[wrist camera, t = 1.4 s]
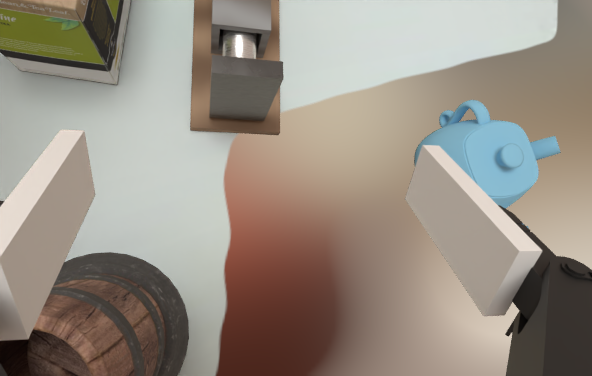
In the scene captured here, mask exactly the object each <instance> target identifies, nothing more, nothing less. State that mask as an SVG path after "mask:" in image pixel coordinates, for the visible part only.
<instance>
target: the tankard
mask: <svg viewBox="0 0 592 376" xmlns="http://www.w3.org/2000/svg"><path fill="white" fill-rule="evenodd" d="M188 339H189V330H188V318H187V313H186V309H185V305H184V303H183V301H182V298H181V296H180V294H179V292H178V290H177V289H176V287H175V286H174V285H173V283H172V282H171V281H170V279H169V278H168V277H167V276H166V275H164V274H163V273H162V272H161V271H160V270H159V269H158V268H156V267H155V266H153V265H151V264H149V263H148V262H146V261H144V260H142V259H139V258H136V257H133V256H130V255H127V254H118V253H110V252H109V253H93V254H88V255H84V256H80V257H76V258H73V259H71V260H69V261H66V262H64V263H63V265H62V268H61V270H60V272H59V274H58V276H57V278H56V281H55V283H54V285H53V287H52V289H51V291H50V293H49V296H48V298H47V300H46V302H45V304H44V306H43V309H42V311H41V313H40V315H39V317H38V319H37V321H36V324H35V326H34V328H33V330H32V332H31V334H30V336H29V339H23V340H3V341H0V364H1V365H2V367H3V369H4V370H5V372H6V374H7V375H8V376H177V375H178V374H179V372H180V369H181V367H182V364H183V361H184V358H185V356H186V351H187V345H188Z"/></svg>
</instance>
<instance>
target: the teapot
mask: <svg viewBox="0 0 592 376" xmlns="http://www.w3.org/2000/svg"><path fill="white" fill-rule="evenodd" d="M469 108H470V109H471V110H472V111H473V112H474V114H475V116H476V118H477V120H467V121H462V122H459V121H460V120H461V118H462V117H463V115H464V114H465V112H466V111H467V110H468V109H469ZM439 121H440V125H441V127H442V128H440V129H438V130H436V131H434V132H433V133H431V134H430V135H428V136H427V137H426V138H425V139H424V140H423V141H422V142H421V143H420V144H419V145H418V147H417V149H416V152H415V160H414V163H415V166H416V163H417V160H418V157H419V154H420V151H421V148H422V145H436V146H440V147H441V148H442V149H443V150H444V151H445V152H446V153H447V154H448V155H449V156H450V157H451V158H452V159H453V160H454V161H455V162H456V163H457V164H458V165H459V167H460V168H461V169H462V170H463V171H464V172H465V173H466V174H467V175H468V176H469V177H470V178H471V179H472V180H473V181H474V182H475V183H476V184H477V185H478V186H479V187H480V188H481V189H482V190H483V191H484V192H485V193H486V194H487V195H488V196H489V197H490V198H491V199H492V200H493V201H494V202H495V203H496V204H497V205H500V206H502V207H504V208H507V207H508V206H510V205H511V204H513V203H514V202H515V201H516V200H518V199H519V198H520V197H522V196H523V195H524V194H525V193H526V192H527V191H528V190H529V189H530V188H531V187H532V186H533V184H534V183H535V182H536V181H537V178H538V166H537V162H536V160H538V159H542V158H545V157H548V156H552V155H555V154H558V153H560V149H559V146H558V143H557V140H556V137H555V136H552V137H549V138H545V139H541V140H538V141H534V142H529V140H528V137H527V135H526V134H525V132H524V130H523V129H522V128H521V127H520V126H519V125H517V124H515V123H511V122H506V121H498V120H490V115H489V113H488V110H487V108H486V107H485V106H484V105H483V104H482V103H481V102H479V101H477V100H469V101H466V102H464V103H462V104H461V105H460V106H459V107H458V108H457V109H456V111H455V112H453V111H450V110H447V111H444V112H443V113H442V114H441V115H440V119H439ZM523 225H524V224H523ZM526 227H527V228H528V226H526ZM528 229H529V228H528Z"/></svg>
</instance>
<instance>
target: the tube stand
mask: <svg viewBox="0 0 592 376" xmlns="http://www.w3.org/2000/svg"><path fill="white" fill-rule="evenodd" d="M223 29H224V30H233V31H242V32H251V33H256V59H261V60H271V61H279V0H195V1H194V31H193V62H192V92H191V123H190V129H191V130H195V131H213V132H231V133H249V134H250V133H251V134H267V135H279V133H280V87H279V89H278V91H277V94H276V96H275V98H274V100H273V102H272V105H271V107H270V109H269V111H268V113H267V116H266V118H265V120H264V121H253V120H238V119H222V118H209V111H210V87H211V66H212V55H220V56H222V54H223Z"/></svg>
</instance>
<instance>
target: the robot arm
mask: <svg viewBox="0 0 592 376" xmlns="http://www.w3.org/2000/svg"><path fill="white" fill-rule="evenodd" d="M94 197H95V190H94V184H93V178H92V173H91V167H90V161H89V156H88V150H87V144H86V138H85V133H84V131H82V130H60V131H59V132H58V134H57V135H56V136H55V137H54V139H53V140H52V141H51V143H50V144H49V145H48V146H47V148H46V149H45V150H44V152H43V153H42V154H41V155H40V157H39V158H38V159H37V160H36V162H35V163H34V164H33V166H32V167H31V168H30V169H29V171H28V172H27V173H26V175H25V176H24V177H23V178H22V180H21V181H20V182H19V183H18V185H17V186H16V187H15V189H14V190H13V191H12V192H11V194H10V195H9V196H8V198H7V199H6V200H5V201H0V341H3V340H23V339H29V336H30V334H31V332H32V330H33V328H34V326H35V324H36V321H37V319H38V317H39V315H40V313H41V311H42V309H43V306H44V304H45V302H46V300H47V298H48V296H49V293H50V291H51V289H52V287H53V285H54V283H55V281H56V278H57V276H58V274H59V272H60V270H61V268H62V265H63V263H64V261H65V259H66V257H67V255H68V253H69V250H70V248H71V246H72V244H73V242H74V240H75V238H76V235H77V233H78V231H79V229H80V227H81V225H82V222H83V220H84V218H85V216H86V214H87V212H88V210H89V207H90V205H91V203H92V201H93V199H94ZM405 200H406V201H407V203H408V204H409V206H410V207H411V209H412V210H413V212H414V213H415V214H416V216H417V218H418V219H419V220H420V222H421V224H422V225H423V227H424V228H425V229H426V231H427V233H428V234H429V236H430V237H431V239H432V240H433V242H434V243H435V245H436V246H437V248H438V249H439V250H440V252H441V254H442V255H443V256H444V258H445V259H446V261H447V262H448V264H449V265H450V267H451V268H452V270H453V271H454V273H455V274H456V276H457V277H458V279H459V280H460V282H461V283H462V285H463V286H464V288H465V289H466V291H467V292H468V293H469V295H470V297H471V298H472V300H473V301H474V303H475V304H476V306H477V307H478V309H479V310H480V312H481V313H482V315H483V316H499V315H505V314H506V312H507V310H508V309H509V307H510V305H511V303H512V302H513V303H514V304H515V305H516V307H517V308H518V309H519V310H520V311H519V313H518V314H517V316H516V318H515V319H514V321H513V323H512V324H511V326H510V327H509V329H508V331H507V332H506V335H507V336H509V335H510V334H511V333H512V332H513V333H512V340H511V346H510V353H509V360H508V365H507V372H506V376H592V270H591V269H590V268H588V267H587V266H585V265H584V264H582V263H580V262H578V261H576V260H574V259H571V258H567V257H559V256H556V255H554V253H553V252H551V250H550V249H548V248H547V246H546V245H544V244H543V243H542V242H541V241H540V240H539V239H538V238H537V237H536V236H535V235H534V234H533V233H532V232H530V230H529V229H528V228H527V227H526V226H525V225H523V223H522V222H521V221H520V220H519V219H518V218H517V217H516V216H515V215H514V214H513V213H512V212H510V211H508V210H506V209H505V208H504V207H502V206H500V205H497V204H496V203H495V202H494V201H493V200H492V199H491V198H490V197H489V196H488V195H487V194H486V193H485V192H484V191H483V190H482V189H481V188H480V187H479V186H478V185H477V184H476V183H475V182H474V181H473V180H472V179H471V178H470V177H469V176H468V175H467V174H466V173H465V172H464V171H463V170H462V169H461V168H460V167H459V165H458V164H457V163H456V162H455V161H454V160H453V159H452V158H451V157H450V156H449V155H448V154H447V153H446V152H445V151H444V150H443V149H442V148H441V147H440V146H436V145H422V148H421V151H420V154H419V157H418V160H417V163H416V166H415V169H414V173H413V176H412V179H411V182H410V185H409V188H408V191H407V194H406V197H405ZM0 376H8V375H7V374H6V372H5V370H4V369H3V367H2V365H1V364H0Z"/></svg>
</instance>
